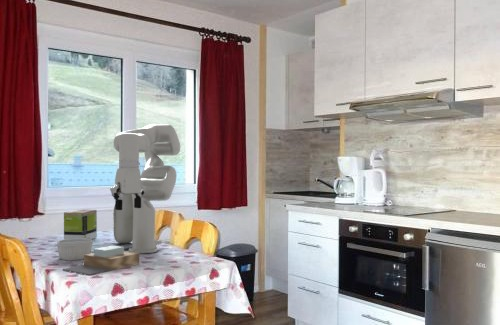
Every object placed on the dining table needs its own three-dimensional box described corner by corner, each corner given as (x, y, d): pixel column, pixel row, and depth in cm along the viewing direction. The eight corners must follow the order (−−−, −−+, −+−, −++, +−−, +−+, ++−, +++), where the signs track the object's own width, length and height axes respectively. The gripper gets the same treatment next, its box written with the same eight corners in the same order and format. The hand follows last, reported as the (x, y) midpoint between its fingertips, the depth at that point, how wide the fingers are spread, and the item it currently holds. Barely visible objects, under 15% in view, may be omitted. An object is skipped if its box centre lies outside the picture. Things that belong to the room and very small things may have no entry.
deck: (113, 259, 179) (113, 249, 179) (139, 263, 172) (139, 253, 172) (83, 265, 167) (84, 254, 167) (110, 270, 160) (110, 259, 160)
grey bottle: (125, 241, 224) (126, 184, 225) (139, 243, 218) (140, 185, 219) (108, 243, 216) (109, 184, 217) (122, 246, 210) (124, 185, 211)
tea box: (78, 237, 234) (79, 209, 234) (97, 238, 233) (97, 209, 233) (62, 242, 219) (63, 211, 219) (82, 243, 218) (83, 212, 218)
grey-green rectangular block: (112, 251, 173) (112, 245, 173) (123, 253, 170) (124, 246, 170) (93, 255, 166) (93, 248, 166) (105, 257, 163) (105, 250, 163)
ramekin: (81, 253, 191) (81, 237, 191) (99, 258, 182) (99, 240, 182) (50, 258, 180) (51, 240, 180) (67, 262, 172) (68, 244, 172)
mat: (83, 265, 167) (83, 264, 167) (110, 270, 160) (110, 269, 160) (62, 270, 159) (62, 269, 159) (89, 275, 152) (89, 274, 152)
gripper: (138, 164, 186) (137, 206, 186) (104, 164, 171) (104, 210, 171) (151, 165, 182) (151, 207, 182) (118, 165, 167) (117, 211, 167)
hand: (128, 208), depth 177 cm, fingers open, 9 cm apart
